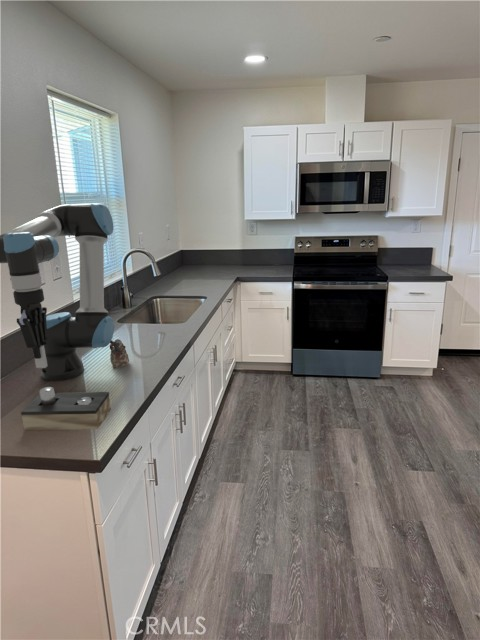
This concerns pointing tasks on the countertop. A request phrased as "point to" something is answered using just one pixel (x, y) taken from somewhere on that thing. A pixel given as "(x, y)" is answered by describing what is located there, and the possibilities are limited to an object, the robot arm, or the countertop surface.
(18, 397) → the countertop surface
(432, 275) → the countertop surface
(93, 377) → the countertop surface
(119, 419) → the countertop surface
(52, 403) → the steel peg
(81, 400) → the steel peg
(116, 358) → the figurine
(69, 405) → the block
